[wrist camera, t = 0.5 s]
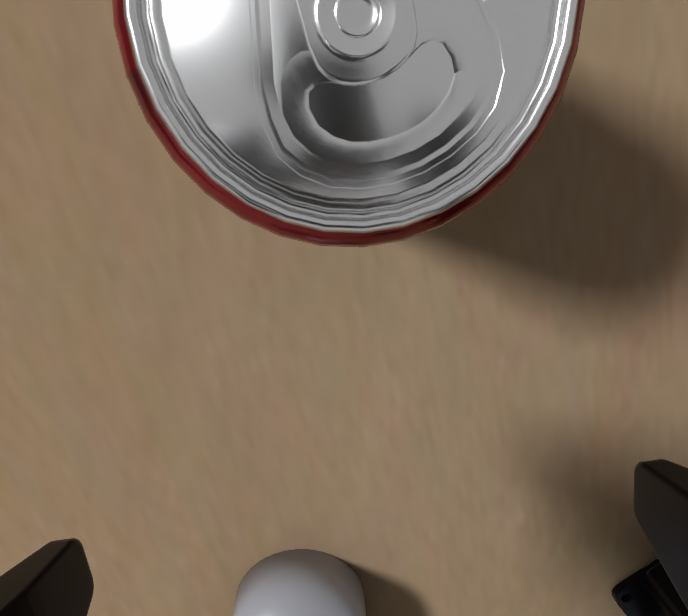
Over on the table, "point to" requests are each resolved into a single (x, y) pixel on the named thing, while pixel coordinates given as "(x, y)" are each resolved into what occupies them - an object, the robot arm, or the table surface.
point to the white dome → (300, 587)
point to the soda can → (348, 104)
